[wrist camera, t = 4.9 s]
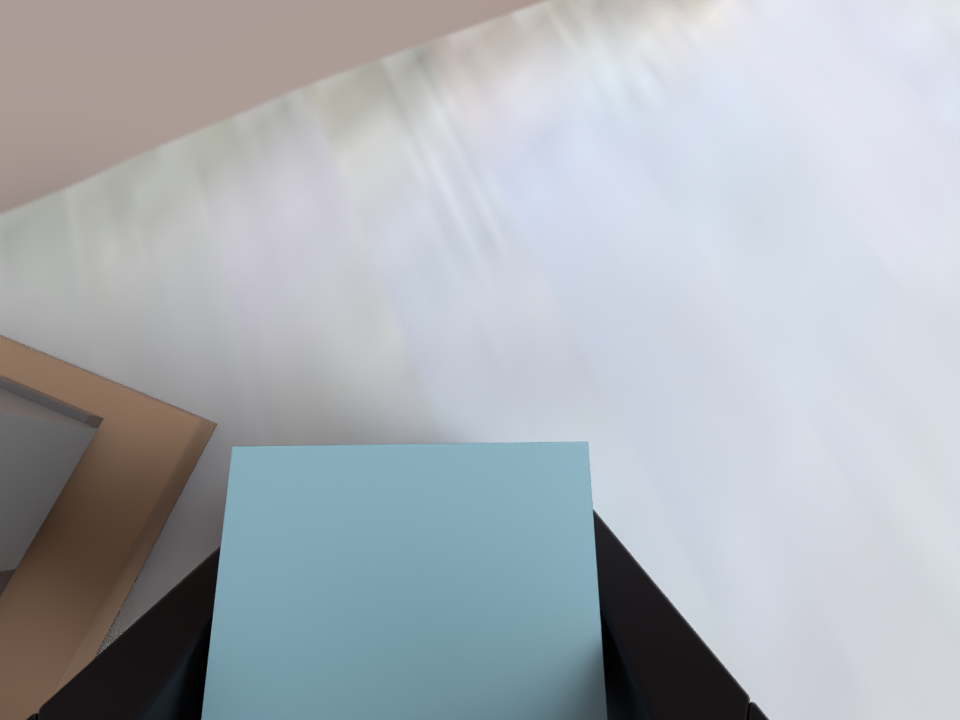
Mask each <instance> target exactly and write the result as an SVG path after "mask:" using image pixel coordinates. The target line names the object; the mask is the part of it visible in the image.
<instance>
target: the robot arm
mask: <svg viewBox="0 0 960 720" xmlns="http://www.w3.org/2000/svg"><path fill="white" fill-rule="evenodd" d="M593 520H594V534H595V549H596V564H597V578H598V593H599V607H600V622H601V636H602V651H603V665H604V680H605V694H606V709H607V720H769V719H768V718H767V717H766V715H765V714H764V713H763V712H762V711H761V709H760V708H759V707H758V706H757V705H756V703H754V702H750V697H749V695H748V694H747V693H746V692H745V691H744V689H743V688H742V687H741V686H740V685H739V683H738V682H737V681H736V680H735V679H734V677H733V676H732V675H731V674H730V673H729V671H728V670H727V669H726V668H725V667H724V665H723V664H722V663H721V662H720V661H719V659H718V658H717V657H716V656H715V655H714V653H713V652H712V651H711V650H710V649H709V647H708V646H707V645H706V644H705V643H704V641H703V640H702V639H701V638H700V637H699V635H698V634H697V633H696V632H695V631H694V629H693V628H692V627H691V626H690V625H689V623H688V622H687V621H686V620H685V619H684V617H683V616H682V615H681V614H680V613H679V611H678V610H677V609H676V608H675V607H674V605H673V604H672V603H671V602H670V601H669V599H668V598H667V597H666V596H665V595H664V593H663V592H662V591H661V590H660V589H659V587H658V586H657V585H656V584H655V583H654V581H653V580H652V579H651V578H650V577H649V575H648V574H647V573H646V572H645V571H644V569H643V568H642V567H641V566H640V565H639V563H638V562H637V561H636V560H635V559H634V557H633V556H632V555H631V554H630V553H629V551H628V550H627V549H626V548H625V547H624V545H623V544H622V543H621V542H620V541H619V539H618V538H617V537H616V536H615V535H614V533H613V532H612V531H611V530H610V529H609V528H608V526H607V525H606V524H605V523H604V522H603V520H602V519H601V518H600V517H599V516H598V514H597V513H596V512H595V511H594V510H593ZM220 550H221V546H220V547H219V548H218V549H217V550H216V551H214V552H213V553H212V554H211V555H210V556H209V557H208V558H207V559H205V560H204V561H203V562H202V563H201V564H200V565H199V566H198V567H197V568H195V569H194V570H193V571H192V572H191V573H190V574H189V575H188V576H186V577H185V578H184V579H183V580H182V581H181V582H180V583H179V584H177V585H176V586H175V587H174V588H173V589H172V590H171V591H170V592H169V593H167V594H166V595H165V596H164V597H163V598H162V599H161V600H160V601H158V602H157V603H156V604H155V605H154V606H153V607H152V608H151V609H150V610H148V611H147V612H146V613H145V614H144V615H143V616H142V617H141V618H139V619H138V620H137V621H136V622H135V623H134V624H133V625H132V626H130V627H129V628H128V629H127V630H126V631H125V632H124V633H123V634H122V635H120V636H119V637H118V638H117V639H116V640H115V641H114V642H113V643H111V644H110V645H109V646H108V647H107V648H106V649H105V650H104V651H102V652H101V653H100V654H99V655H98V656H97V657H96V658H95V659H94V660H92V661H91V662H90V663H89V664H88V665H87V666H86V667H85V668H83V669H82V670H81V671H80V672H79V673H78V674H77V675H76V676H74V677H73V678H72V679H71V680H70V681H69V682H68V683H67V684H66V685H64V686H63V687H62V688H61V689H60V690H59V691H58V692H57V693H55V694H54V695H53V696H52V697H51V698H50V699H49V700H48V701H46V702H45V703H44V704H43V705H42V706H41V707H40V709H39V712H38V713H34V714H32V715H30V716H29V717H28V718H27V719H26V720H201V718H202V709H203V700H204V691H205V682H206V673H207V665H208V656H209V647H210V638H211V629H212V620H213V612H214V603H215V594H216V585H217V576H218V567H219V558H220ZM749 702H750V703H749Z"/></svg>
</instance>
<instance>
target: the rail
mask: <svg viewBox="0 0 960 720" xmlns="http://www.w3.org/2000/svg"><path fill="white" fill-rule="evenodd" d="M0 388H1V389H4V390H6V391H9V392H11V393H13V394H16V395H18V396H20V397H23V398H25V399H28V400H30V401H32V402H35V403H37V404H39V405H42V406H44V407H47V408H49V409H51V410H54V411H56V412H59V413H61V414H63V415H66V416H68V417H70V418H73V419H75V420H78V421H80V422H82V423H85V424H87V425H89V426H92V427H94V428H97V430H98V428H99V426H100V425H101V423H102V421H103V419H104V418H103V417H100V416H98V415H95V414H93V413H91V412H88V411H86V410H83V409H81V408H79V407H76V406H74V405H71V404H69V403H67V402H64V401H62V400H60V399H57V398H55V397H52V396H50V395H48V394H45V393H43V392H40V391H38V390H36V389H33V388H31V387H28V386H26V385H24V384H21V383H19V382H16V381H14V380H12V379H9V378H7V377H4V376H1V375H0ZM94 435H95V434H94ZM93 437H94V436H93ZM91 440H92V439H91ZM90 442H91V441H90ZM87 447H88V446H87ZM86 449H87V448H86ZM84 452H85V451H84ZM83 454H84V453H83ZM80 459H81V458H80ZM79 461H80V460H79ZM77 464H78V463H77ZM76 466H77V465H76ZM73 471H74V470H73ZM72 473H73V472H72ZM70 476H71V475H70ZM69 478H70V477H69ZM66 483H67V482H66ZM65 485H66V484H65ZM63 488H64V487H63ZM62 490H63V489H62ZM59 495H60V494H59ZM58 497H59V496H58ZM56 500H57V499H56ZM55 502H56V501H55ZM52 507H53V506H52ZM51 509H52V508H51ZM49 512H50V511H49ZM48 514H49V513H48ZM45 519H46V518H45ZM44 521H45V520H44ZM42 524H43V523H42ZM41 526H42V525H41ZM38 531H39V530H38ZM37 533H38V532H37ZM35 536H36V535H35ZM34 538H35V537H34ZM31 543H32V542H31ZM30 545H31V544H30ZM28 548H29V547H28ZM27 550H28V549H27ZM24 555H25V554H24ZM23 557H24V556H23ZM21 560H22V559H21ZM20 562H21V561H20ZM17 567H18V566H17ZM16 569H17V568H16ZM16 569H12V570H6V571H0V596H1V594H2V593H3V591H4V589H5V587H6V586H7V584H8V582H9V581H10V579H11V577H12V575H13V574H14V572H15V570H16Z"/></svg>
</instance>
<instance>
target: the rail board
mask: <svg viewBox="0 0 960 720" xmlns="http://www.w3.org/2000/svg"><path fill="white" fill-rule="evenodd" d="M0 375H1V376H4V377H7V378H9V379H12V380H14V381H16V382H19V383H21V384H24V385H26V386H28V387H31V388H33V389H36V390H38V391H40V392H43V393H45V394H48V395H50V396H52V397H55V398H57V399H60V400H62V401H64V402H67V403H69V404H71V405H74V406H76V407H79V408H81V409H83V410H86V411H88V412H91V413H93V414H95V415H98V416H100V417H103V418H104V419H103V421H102V423H101V425H100V426H99V428H98V430H97V431H96V433H95V435H94V437H93V438H92V440H91V442H90V443H89V445H88V447H87V449H86V450H85V452H84V454H83V455H82V457H81V459H80V461H79V462H78V464H77V466H76V467H75V469H74V471H73V473H72V474H71V476H70V478H69V479H68V481H67V483H66V485H65V486H64V488H63V490H62V491H61V493H60V495H59V497H58V498H57V500H56V502H55V503H54V505H53V507H52V509H51V510H50V512H49V514H48V515H47V517H46V519H45V521H44V522H43V524H42V526H41V527H40V529H39V531H38V533H37V534H36V536H35V538H34V539H33V541H32V543H31V545H30V546H29V548H28V550H27V551H26V553H25V555H24V557H23V558H22V560H21V562H20V563H19V565H18V567H17V569H16V570H15V572H14V574H13V575H12V577H11V579H10V581H9V582H8V584H7V586H6V587H5V589H4V591H3V593H2V594H1V596H0V720H26V719H27V718H28V717H29V716H30V715H32V714H34V713H38V712H39V709H40V707H41V706H42V705H43V704H44V703H45V702H46V701H48V700H49V699H50V698H51V697H52V696H53V695H54V694H55V693H57V692H58V691H59V690H60V689H61V688H62V687H63V686H64V685H66V684H67V683H68V682H69V681H70V680H71V679H72V678H73V677H74V676H76V675H77V674H78V673H79V672H80V671H81V670H82V669H83V668H85V667H86V666H87V665H88V664H89V663H90V662H91V661H92V660H94V658H95V656H96V654H97V652H98V650H99V648H100V647H101V645H102V643H103V641H104V639H105V637H106V635H107V633H108V631H109V629H110V627H111V626H112V624H113V622H114V620H115V618H116V616H117V614H118V612H119V610H120V608H121V606H122V605H123V603H124V601H125V599H126V597H127V595H128V593H129V591H130V589H131V587H132V585H133V584H134V582H135V580H136V578H137V576H138V574H139V572H140V570H141V568H142V566H143V564H144V562H145V561H146V559H147V557H148V555H149V553H150V551H151V549H152V547H153V545H154V543H155V541H156V540H157V538H158V536H159V534H160V532H161V530H162V528H163V526H164V524H165V522H166V520H167V519H168V517H169V515H170V513H171V511H172V509H173V507H174V505H175V503H176V501H177V499H178V498H179V496H180V494H181V492H182V490H183V488H184V486H185V484H186V482H187V480H188V478H189V476H190V475H191V473H192V471H193V469H194V467H195V465H196V463H197V461H198V459H199V457H200V455H201V454H202V452H203V450H204V448H205V446H206V444H207V442H208V440H209V438H210V436H211V434H212V433H213V431H214V429H215V427H216V425H217V424H216V423H213V422H211V421H209V420H206V419H204V418H201V417H199V416H196V415H194V414H191V413H189V412H187V411H184V410H182V409H179V408H177V407H174V406H172V405H169V404H167V403H165V402H162V401H160V400H157V399H155V398H152V397H150V396H147V395H145V394H143V393H140V392H138V391H135V390H133V389H130V388H128V387H125V386H123V385H121V384H118V383H116V382H113V381H111V380H108V379H106V378H103V377H101V376H99V375H96V374H94V373H91V372H89V371H86V370H84V369H81V368H79V367H77V366H74V365H72V364H69V363H67V362H64V361H62V360H59V359H57V358H55V357H52V356H50V355H47V354H45V353H42V352H40V351H37V350H35V349H32V348H30V347H28V346H25V345H23V344H20V343H18V342H15V341H13V340H10V339H8V338H6V337H3V336H1V335H0Z"/></svg>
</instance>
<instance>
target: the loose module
mask: <svg viewBox="0 0 960 720" xmlns="http://www.w3.org/2000/svg"><path fill="white" fill-rule="evenodd" d="M201 720H607V709H606V694H605V680H604V665H603V651H602V636H601V622H600V607H599V593H598V578H597V564H596V549H595V534H594V520H593V505H592V491H591V476H590V462H589V447H588V442H522V443H450V444H378V445H306V446H234V447H232V452H231V461H230V470H229V479H228V488H227V496H226V505H225V514H224V523H223V532H222V541H221V550H220V558H219V567H218V576H217V585H216V594H215V603H214V612H213V620H212V629H211V638H210V647H209V656H208V665H207V673H206V682H205V691H204V700H203V709H202V718H201Z"/></svg>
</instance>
